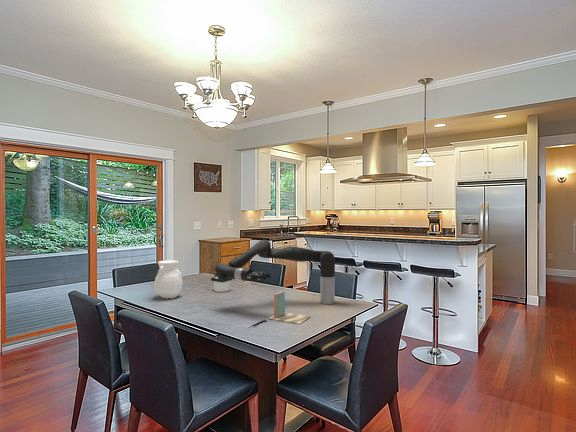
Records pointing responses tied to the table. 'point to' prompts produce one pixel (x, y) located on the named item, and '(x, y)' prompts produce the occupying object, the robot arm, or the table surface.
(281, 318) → the board
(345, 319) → the table surface
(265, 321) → the kitchen knife
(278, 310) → the tile
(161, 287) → the white vase
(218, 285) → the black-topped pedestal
